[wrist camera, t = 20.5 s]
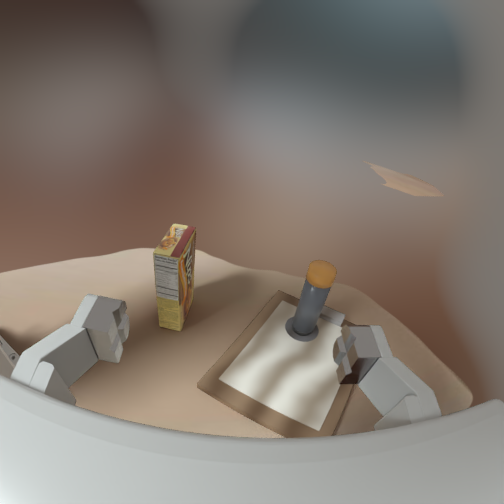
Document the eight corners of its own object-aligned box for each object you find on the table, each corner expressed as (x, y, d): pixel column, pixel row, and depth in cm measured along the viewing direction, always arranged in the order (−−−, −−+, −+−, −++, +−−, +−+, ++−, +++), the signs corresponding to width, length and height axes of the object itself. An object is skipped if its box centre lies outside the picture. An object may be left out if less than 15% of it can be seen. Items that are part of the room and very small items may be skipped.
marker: (286, 330, 48) (305, 269, 40) (296, 316, 51) (314, 256, 44) (308, 341, 46) (332, 281, 39) (317, 325, 49) (339, 267, 42)
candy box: (173, 294, 53) (171, 222, 45) (194, 298, 53) (196, 226, 45) (158, 327, 46) (151, 252, 37) (182, 332, 46) (180, 257, 37)
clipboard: (197, 387, 38) (196, 379, 36) (277, 294, 57) (279, 285, 56) (321, 453, 31) (327, 448, 29) (368, 335, 50) (373, 327, 49)
